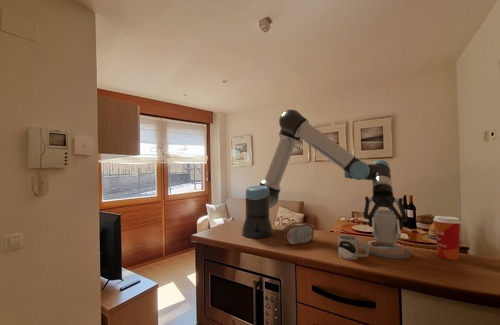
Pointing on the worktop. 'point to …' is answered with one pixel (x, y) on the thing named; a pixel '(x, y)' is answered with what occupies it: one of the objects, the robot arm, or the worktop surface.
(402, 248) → the coaster
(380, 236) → the can
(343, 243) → the mug
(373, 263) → the worktop surface
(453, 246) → the paper cup
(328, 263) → the worktop surface
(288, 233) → the tin
